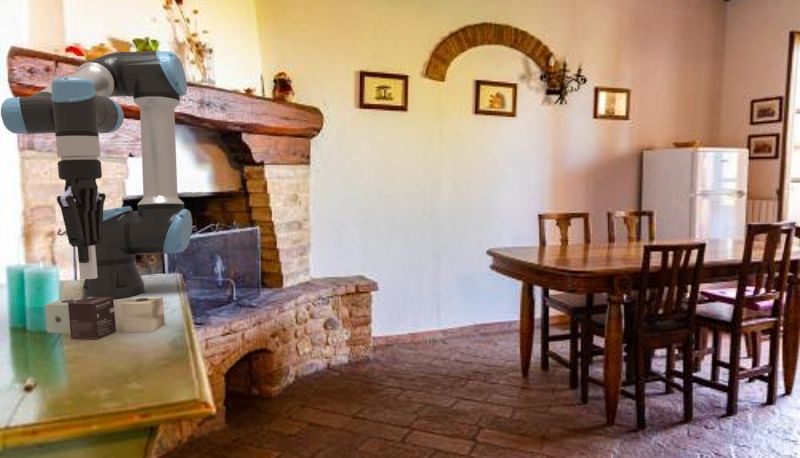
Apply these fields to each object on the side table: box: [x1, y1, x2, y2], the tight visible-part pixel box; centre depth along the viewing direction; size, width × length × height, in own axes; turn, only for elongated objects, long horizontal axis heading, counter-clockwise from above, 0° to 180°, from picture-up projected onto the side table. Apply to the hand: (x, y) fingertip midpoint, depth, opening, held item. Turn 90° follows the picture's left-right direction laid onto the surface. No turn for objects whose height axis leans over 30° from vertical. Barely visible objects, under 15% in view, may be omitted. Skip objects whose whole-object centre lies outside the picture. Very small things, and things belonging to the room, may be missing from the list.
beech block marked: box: [120, 296, 166, 333], centre depth 125 cm, size 6×6×6 cm
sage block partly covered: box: [44, 297, 80, 335], centre depth 126 cm, size 6×6×6 cm
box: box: [68, 297, 117, 340], centre depth 121 cm, size 6×6×7 cm
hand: (89, 278), depth 120 cm, fingers closed
